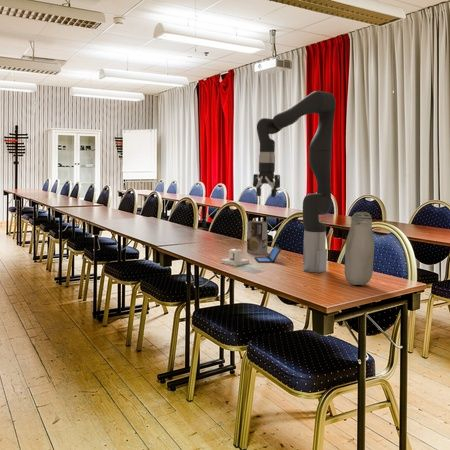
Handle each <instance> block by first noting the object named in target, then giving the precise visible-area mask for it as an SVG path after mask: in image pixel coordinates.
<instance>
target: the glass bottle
mask: <svg viewBox="0 0 450 450" xmlns="http://www.w3.org/2000/svg"><path fill="white" fill-rule="evenodd" d="M350 222H351V223H350V226H349V231H348V234H347V236H346V240H345V248H344V249H345V250H344V251H345V252H344V277H345V279H346V281H347V282H348V284H351V285H352V286H355V285H362V286H365V285H366V284H368V283H369V282H370V281H371V279H372V278H373V270H374V259H375V258H374V257H375V239H374V234H373V233H374V232H373V227H372V226H373V218H372V215H371V214H370V213H369V212H367V211H357V212H355V213H353V215H352V216H351V219H350Z"/></svg>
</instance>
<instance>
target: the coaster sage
mask: <svg viewBox="0 0 450 450" xmlns="http://www.w3.org/2000/svg"><path fill="white" fill-rule="evenodd" d="M246 266H247V267H252V268H253V269H259V268H264V267H265V266H264V265H259V264H249V265H246Z"/></svg>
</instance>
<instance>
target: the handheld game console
mask: <svg viewBox="0 0 450 450" xmlns="http://www.w3.org/2000/svg"><path fill="white" fill-rule="evenodd" d="M281 251H282V249H281V248H280V247H279V245H277V244H274V246H273V248H272V250H270V253H269V254H268V255H267V256H257V257H256V256H255V257H254V258H253V259H254V260H255V261H256V263H258V264H274V263H275V261H276V259H277V258H278V256H279V254H280V253H281Z"/></svg>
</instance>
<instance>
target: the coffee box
mask: <svg viewBox="0 0 450 450" xmlns="http://www.w3.org/2000/svg"><path fill="white" fill-rule="evenodd" d="M246 225H247V228H246V229H247V230H246V231H247V233H246V235H247V236H246V241H247V242H246V253H249V254H259V255H263V254H264V255H265V254H267V253H268V243H269V239H268V236H269V235H268V233H269V232H268V231H269V230H268V229H269V221H263V220H261V221H260V220H250V221H247V222H246Z"/></svg>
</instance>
